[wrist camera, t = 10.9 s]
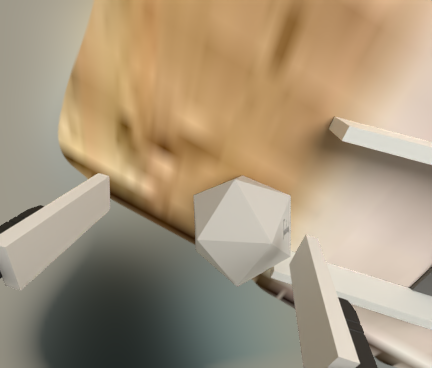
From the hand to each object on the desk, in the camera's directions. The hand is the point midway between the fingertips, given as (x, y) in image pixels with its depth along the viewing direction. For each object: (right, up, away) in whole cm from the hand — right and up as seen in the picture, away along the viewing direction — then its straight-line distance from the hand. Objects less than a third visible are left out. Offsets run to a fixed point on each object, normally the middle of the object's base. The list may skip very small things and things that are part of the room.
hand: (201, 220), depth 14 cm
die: (+4, +1, +8) cm, 9 cm away
